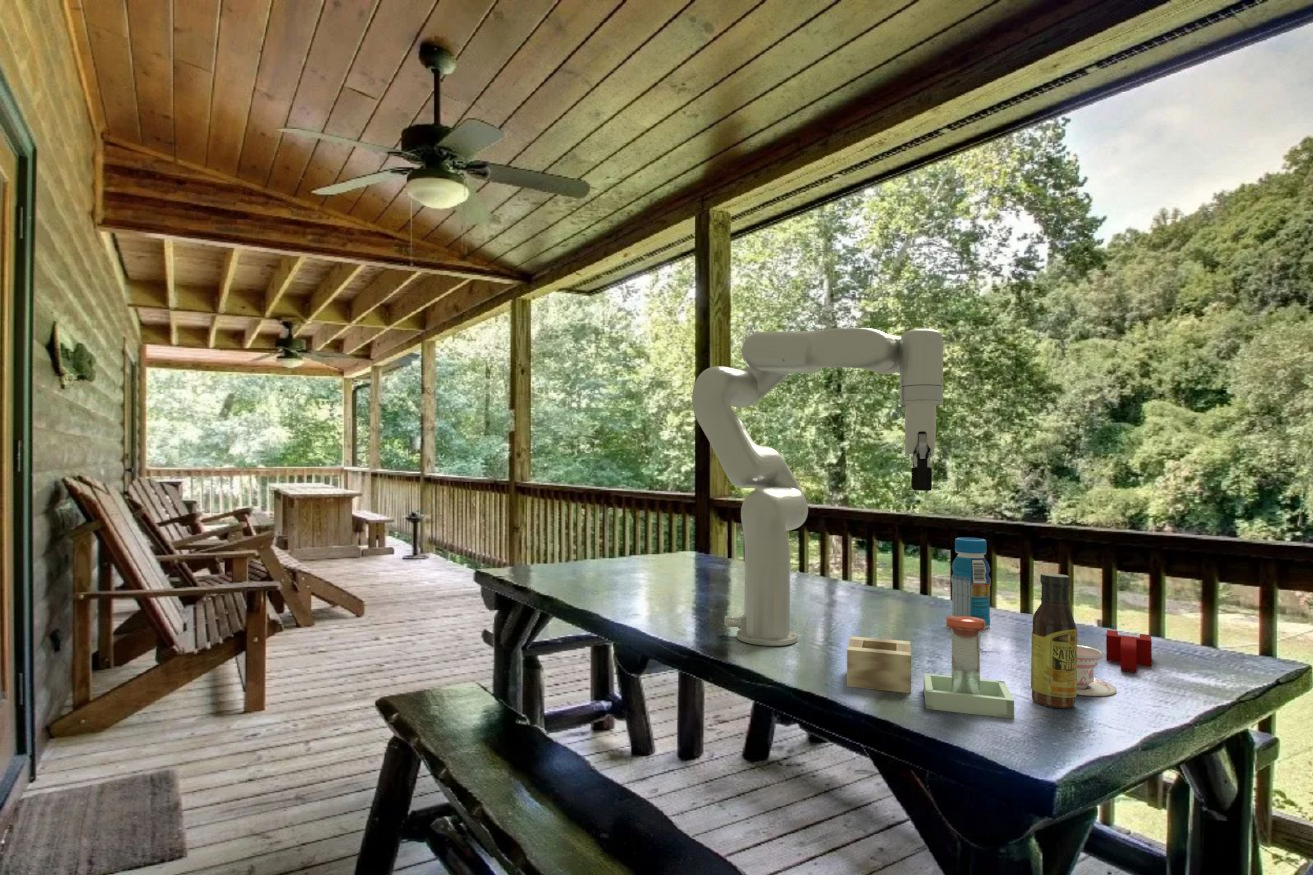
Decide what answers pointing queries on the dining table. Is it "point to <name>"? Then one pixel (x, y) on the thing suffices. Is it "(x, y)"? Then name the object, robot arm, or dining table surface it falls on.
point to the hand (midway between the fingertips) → (921, 489)
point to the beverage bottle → (971, 580)
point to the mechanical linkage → (1129, 650)
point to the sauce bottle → (1054, 646)
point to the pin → (965, 653)
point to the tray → (968, 697)
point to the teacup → (1090, 673)
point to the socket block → (879, 664)
